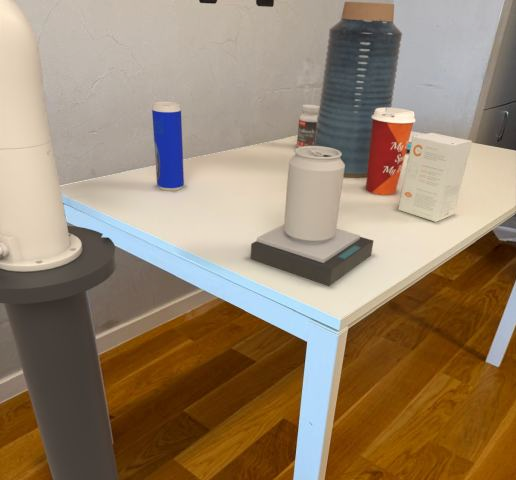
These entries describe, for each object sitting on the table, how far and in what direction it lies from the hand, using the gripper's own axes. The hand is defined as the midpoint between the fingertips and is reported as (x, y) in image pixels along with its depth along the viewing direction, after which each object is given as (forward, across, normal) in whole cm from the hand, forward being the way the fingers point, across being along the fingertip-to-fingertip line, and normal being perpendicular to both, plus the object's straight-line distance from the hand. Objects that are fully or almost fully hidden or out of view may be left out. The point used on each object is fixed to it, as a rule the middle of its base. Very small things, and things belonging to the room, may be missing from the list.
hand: (235, 4), depth 68 cm
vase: (+31, -1, +44) cm, 54 cm away
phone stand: (+31, 0, +69) cm, 75 cm away
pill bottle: (+31, -18, +55) cm, 65 cm away
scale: (+30, +18, -4) cm, 35 cm away
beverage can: (+31, -20, +6) cm, 37 cm away
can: (+28, +17, -4) cm, 33 cm away
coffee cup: (+31, +12, +34) cm, 47 cm away
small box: (+31, +24, +27) cm, 47 cm away
